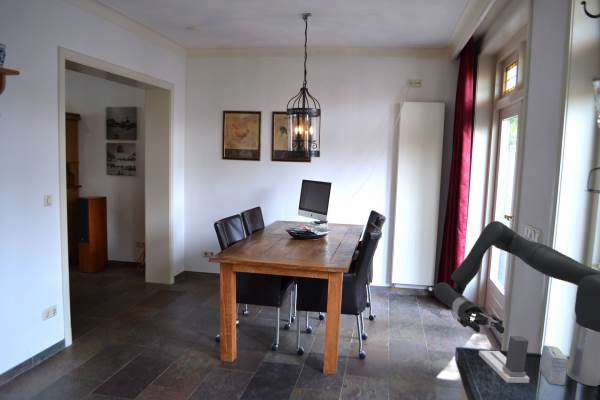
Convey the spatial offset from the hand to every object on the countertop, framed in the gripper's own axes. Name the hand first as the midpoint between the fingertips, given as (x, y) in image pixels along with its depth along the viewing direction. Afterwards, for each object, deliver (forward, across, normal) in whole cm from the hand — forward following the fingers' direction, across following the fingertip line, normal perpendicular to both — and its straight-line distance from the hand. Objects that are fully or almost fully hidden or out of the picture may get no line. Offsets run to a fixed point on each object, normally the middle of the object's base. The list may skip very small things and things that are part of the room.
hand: (490, 330), depth 139 cm
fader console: (+9, 0, +8) cm, 12 cm away
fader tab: (+14, 0, +7) cm, 16 cm away
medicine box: (+14, +13, +9) cm, 21 cm away
